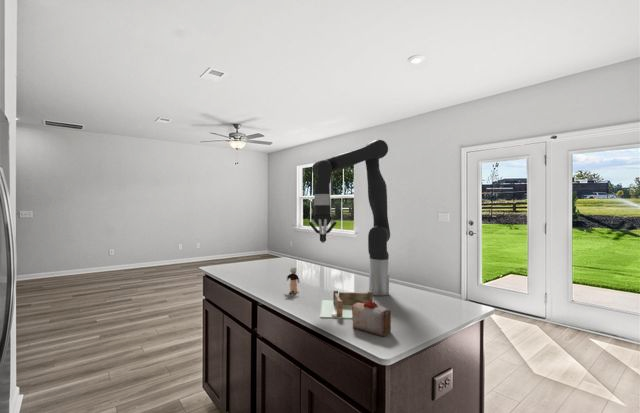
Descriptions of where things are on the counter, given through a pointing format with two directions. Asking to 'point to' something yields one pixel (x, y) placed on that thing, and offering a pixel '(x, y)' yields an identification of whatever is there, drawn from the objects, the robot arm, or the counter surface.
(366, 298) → the fixed fence section
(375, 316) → the food item
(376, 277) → the robot arm
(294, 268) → the grandmother figurine
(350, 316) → the card
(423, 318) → the counter surface
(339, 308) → the hinged fence panel
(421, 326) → the counter surface
